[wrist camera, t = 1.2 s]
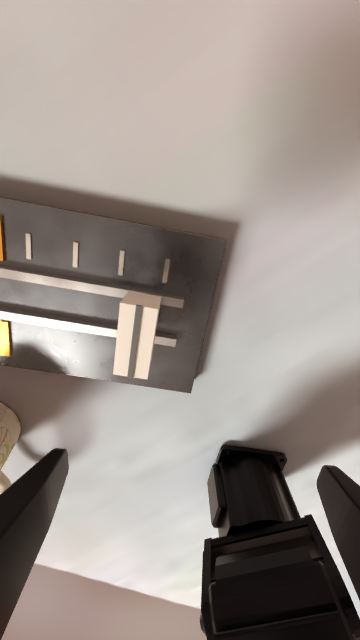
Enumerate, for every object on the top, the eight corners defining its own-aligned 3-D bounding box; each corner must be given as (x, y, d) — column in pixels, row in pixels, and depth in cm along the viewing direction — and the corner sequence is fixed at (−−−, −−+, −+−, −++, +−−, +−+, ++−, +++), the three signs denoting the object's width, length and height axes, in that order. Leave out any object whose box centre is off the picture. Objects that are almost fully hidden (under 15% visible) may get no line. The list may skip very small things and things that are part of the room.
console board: (222, 239, 18) (227, 241, 16) (190, 382, 22) (191, 397, 20) (-62, 185, 17) (-94, 180, 15) (-38, 347, 21) (-61, 360, 19)
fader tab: (163, 287, 17) (158, 309, 13) (154, 346, 19) (147, 381, 15) (134, 282, 17) (119, 302, 13) (127, 341, 19) (112, 376, 15)
